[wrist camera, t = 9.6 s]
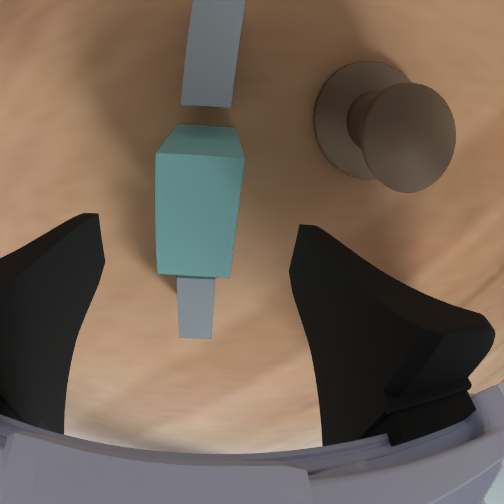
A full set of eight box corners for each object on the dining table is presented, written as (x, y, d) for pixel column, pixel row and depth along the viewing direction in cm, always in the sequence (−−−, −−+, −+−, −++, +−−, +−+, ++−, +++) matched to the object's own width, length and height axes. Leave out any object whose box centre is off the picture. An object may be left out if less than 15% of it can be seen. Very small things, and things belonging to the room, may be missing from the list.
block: (225, 212, 17) (229, 278, 12) (173, 209, 17) (157, 273, 12) (235, 127, 15) (245, 158, 10) (178, 123, 14) (155, 153, 9)
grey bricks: (211, 301, 21) (211, 339, 18) (183, 299, 21) (179, 337, 18) (239, 15, 11) (245, -1, 8) (199, 12, 11) (193, -5, 8)
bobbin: (403, 184, 17) (443, 217, 14) (303, 167, 16) (329, 200, 13) (428, 82, 14) (479, 94, 10) (324, 47, 13) (362, 41, 9)
